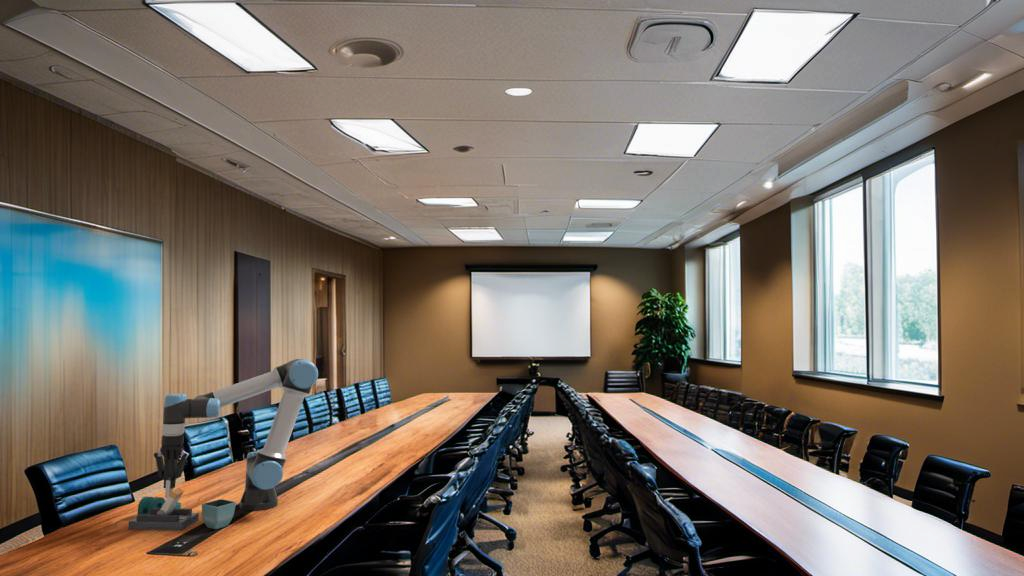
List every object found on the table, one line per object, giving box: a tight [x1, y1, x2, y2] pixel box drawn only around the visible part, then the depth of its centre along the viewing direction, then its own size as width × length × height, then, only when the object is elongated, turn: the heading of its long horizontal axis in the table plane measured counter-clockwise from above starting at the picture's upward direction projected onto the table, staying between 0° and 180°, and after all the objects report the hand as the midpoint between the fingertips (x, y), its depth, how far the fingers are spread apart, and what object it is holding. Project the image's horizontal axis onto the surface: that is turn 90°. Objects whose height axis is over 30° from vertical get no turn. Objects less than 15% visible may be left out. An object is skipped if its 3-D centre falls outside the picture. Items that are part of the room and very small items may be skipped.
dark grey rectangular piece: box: [136, 508, 193, 522], centre depth 231 cm, size 15×11×2 cm
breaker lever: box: [156, 487, 185, 515], centre depth 231 cm, size 3×6×10 cm
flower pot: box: [201, 498, 237, 530], centre depth 230 cm, size 9×9×9 cm
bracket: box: [136, 496, 182, 517], centre depth 247 cm, size 18×7×8 cm, turn 170°
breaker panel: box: [127, 512, 200, 531], centre depth 231 cm, size 20×12×3 cm, turn 90°
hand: (168, 497), depth 232 cm, fingers closed
